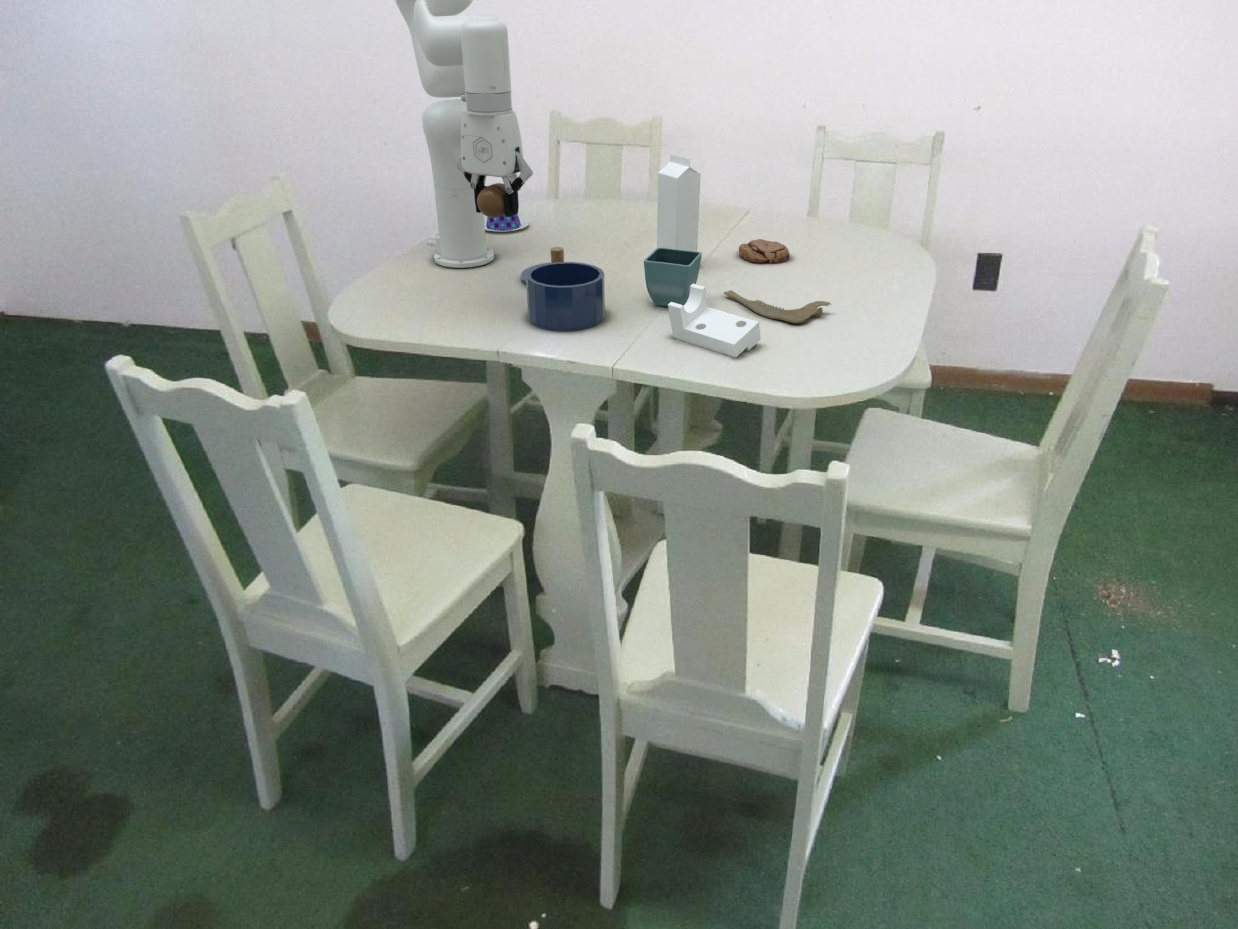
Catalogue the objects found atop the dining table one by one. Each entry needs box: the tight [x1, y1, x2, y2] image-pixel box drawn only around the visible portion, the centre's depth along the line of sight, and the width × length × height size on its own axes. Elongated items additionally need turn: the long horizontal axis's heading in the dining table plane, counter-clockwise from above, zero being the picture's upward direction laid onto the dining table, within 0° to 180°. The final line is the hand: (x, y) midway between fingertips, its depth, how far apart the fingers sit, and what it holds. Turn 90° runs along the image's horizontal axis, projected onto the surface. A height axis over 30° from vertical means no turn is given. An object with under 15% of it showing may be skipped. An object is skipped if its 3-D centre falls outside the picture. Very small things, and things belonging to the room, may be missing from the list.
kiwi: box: [477, 182, 507, 218], centre depth 158 cm, size 8×5×5 cm
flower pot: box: [643, 247, 703, 307], centre depth 167 cm, size 9×9×9 cm
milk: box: [656, 153, 701, 252], centre depth 182 cm, size 6×6×22 cm
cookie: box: [738, 238, 790, 264], centre depth 192 cm, size 10×11×3 cm
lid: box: [520, 246, 565, 284], centre depth 179 cm, size 15×15×6 cm
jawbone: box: [723, 289, 832, 324], centre depth 165 cm, size 9×20×2 cm, turn 63°
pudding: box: [484, 213, 530, 233], centre depth 211 cm, size 12×12×5 cm
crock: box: [525, 261, 606, 332], centre depth 161 cm, size 14×14×8 cm
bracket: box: [667, 283, 762, 359], centre depth 151 cm, size 13×7×8 cm, turn 49°
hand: (497, 211), depth 159 cm, fingers closed on kiwi, 5 cm apart
